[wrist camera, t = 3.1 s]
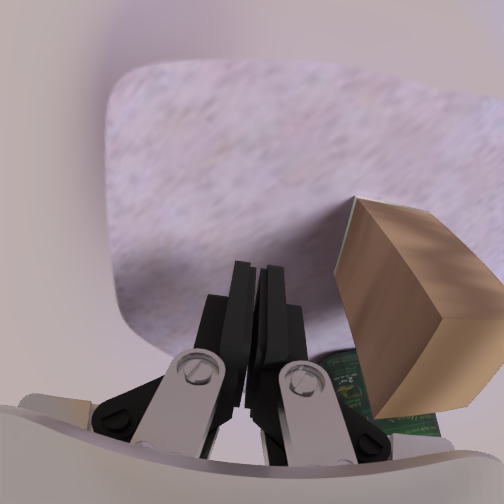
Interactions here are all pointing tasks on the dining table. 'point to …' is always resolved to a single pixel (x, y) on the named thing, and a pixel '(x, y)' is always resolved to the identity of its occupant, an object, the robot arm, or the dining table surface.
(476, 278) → the tan block
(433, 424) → the coffee jar
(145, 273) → the dining table surface
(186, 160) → the dining table surface
